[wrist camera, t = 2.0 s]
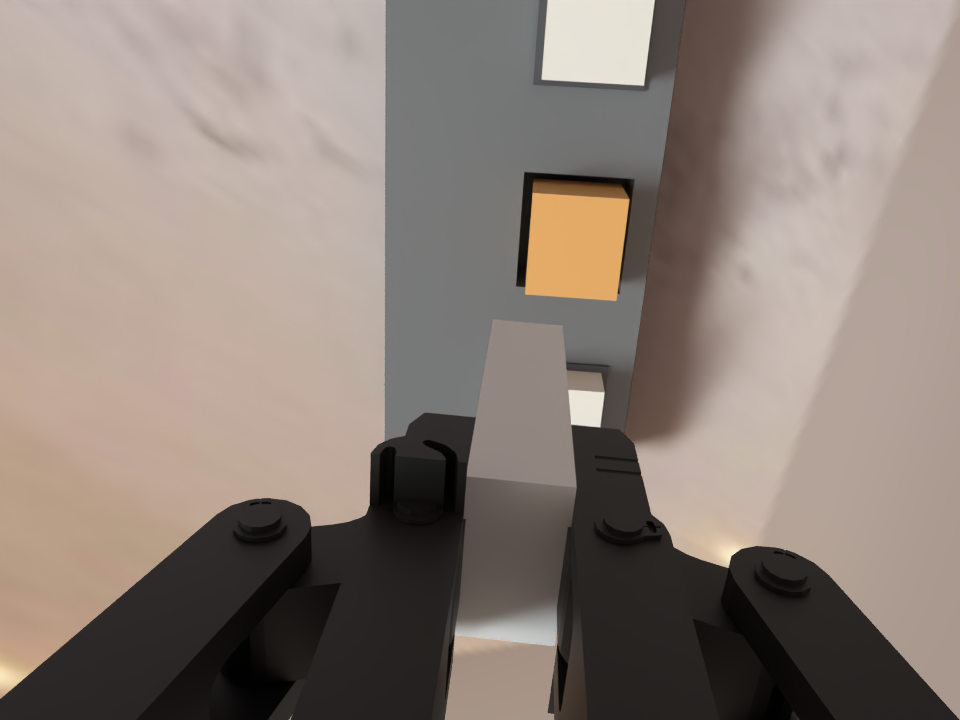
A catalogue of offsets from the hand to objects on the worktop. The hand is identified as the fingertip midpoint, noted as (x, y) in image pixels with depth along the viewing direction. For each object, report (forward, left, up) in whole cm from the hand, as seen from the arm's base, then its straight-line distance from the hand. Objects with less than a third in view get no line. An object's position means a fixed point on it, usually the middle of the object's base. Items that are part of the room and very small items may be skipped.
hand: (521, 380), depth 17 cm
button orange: (0, +2, -17) cm, 17 cm away
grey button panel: (0, -1, -20) cm, 20 cm away
